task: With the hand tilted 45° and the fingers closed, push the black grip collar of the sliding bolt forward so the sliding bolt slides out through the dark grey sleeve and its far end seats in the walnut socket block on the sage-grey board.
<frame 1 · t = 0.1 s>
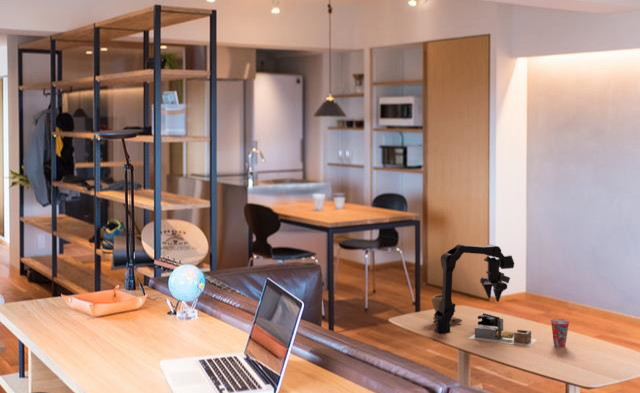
hand: (493, 299, 413), 15 cm above the table, tool pointing down, fingers open, 9 cm apart
sleeve: (487, 336, 395), resting on board
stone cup: (444, 323, 425), on the table
end cap: (489, 328, 414), on the table
socket: (522, 341, 387), resting on board
cup: (559, 346, 379), on the table
board: (502, 339, 391), on the table
sliding bolt: (495, 328, 393), point 5 cm above the table, slide at 0.0 cm
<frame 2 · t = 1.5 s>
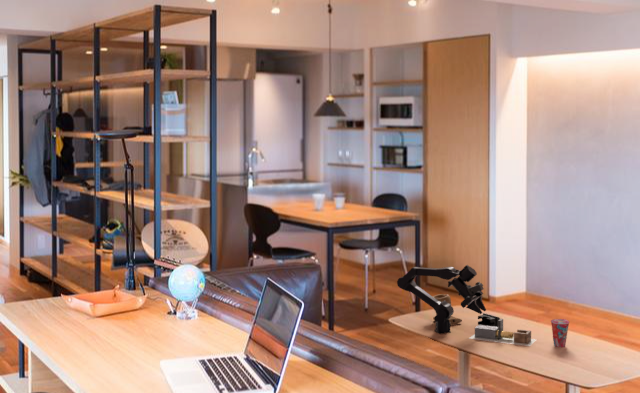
hand: (483, 312, 395), 13 cm above the table, tool tilted 45°, fingers open, 6 cm apart
nothing on the table moved.
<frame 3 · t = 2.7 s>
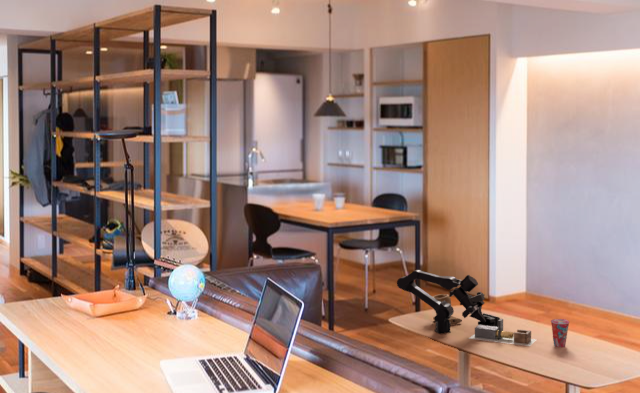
hand: (485, 322, 395), 8 cm above the table, tool tilted 45°, fingers closed
nothing on the table moved.
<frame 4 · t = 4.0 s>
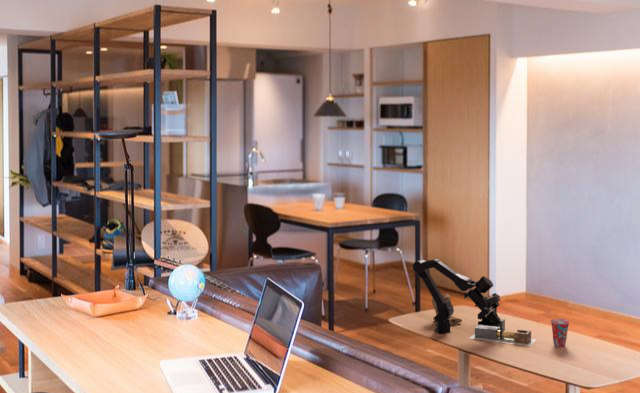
hand: (500, 323, 391), 8 cm above the table, tool tilted 45°, fingers closed, pressing on sliding bolt
sliding bolt: (497, 328, 392), point 5 cm above the table, slide at 0.8 cm, touching gripper
everything else where it was.
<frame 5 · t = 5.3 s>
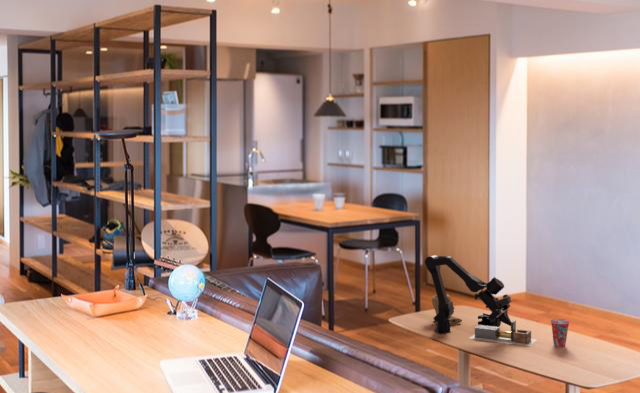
hand: (511, 325, 389), 8 cm above the table, tool tilted 45°, fingers closed
sliding bolt: (508, 329, 390), point 5 cm above the table, slide at 6.2 cm
everything else where it was.
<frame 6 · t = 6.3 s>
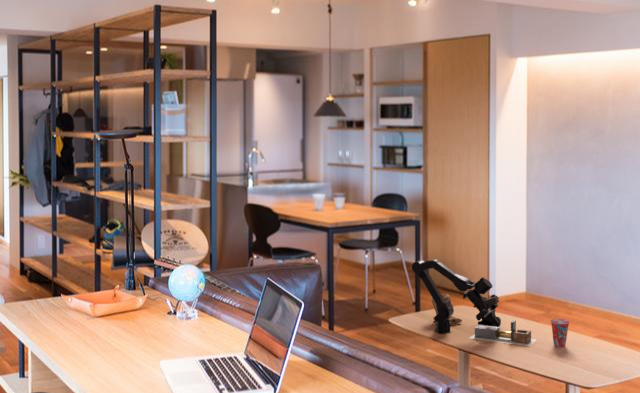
hand: (498, 325, 392), 7 cm above the table, tool tilted 45°, fingers closed
nothing on the table moved.
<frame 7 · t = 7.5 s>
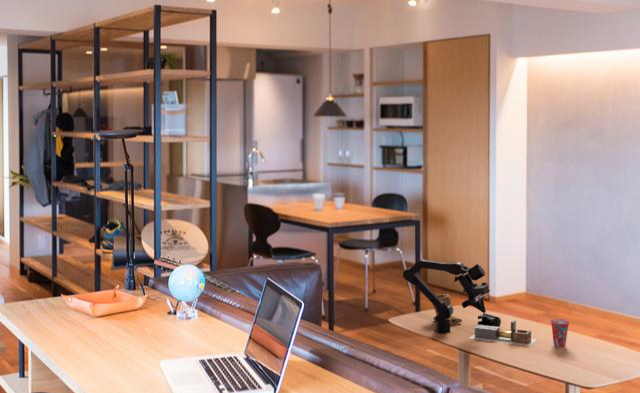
hand: (484, 312, 397), 12 cm above the table, tool tilted 35°, fingers closed
nothing on the table moved.
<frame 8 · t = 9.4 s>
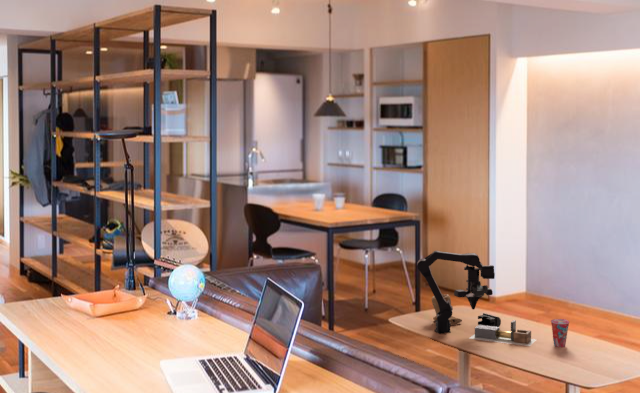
hand: (473, 309, 403), 12 cm above the table, tool pointing down, fingers closed
nothing on the table moved.
at the end: sliding bolt slide at 6.2 cm; sliding bolt moved 6.2 cm from its start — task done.
